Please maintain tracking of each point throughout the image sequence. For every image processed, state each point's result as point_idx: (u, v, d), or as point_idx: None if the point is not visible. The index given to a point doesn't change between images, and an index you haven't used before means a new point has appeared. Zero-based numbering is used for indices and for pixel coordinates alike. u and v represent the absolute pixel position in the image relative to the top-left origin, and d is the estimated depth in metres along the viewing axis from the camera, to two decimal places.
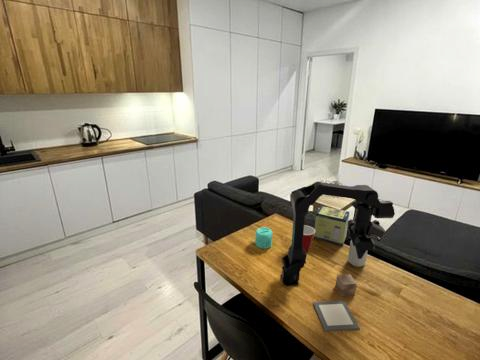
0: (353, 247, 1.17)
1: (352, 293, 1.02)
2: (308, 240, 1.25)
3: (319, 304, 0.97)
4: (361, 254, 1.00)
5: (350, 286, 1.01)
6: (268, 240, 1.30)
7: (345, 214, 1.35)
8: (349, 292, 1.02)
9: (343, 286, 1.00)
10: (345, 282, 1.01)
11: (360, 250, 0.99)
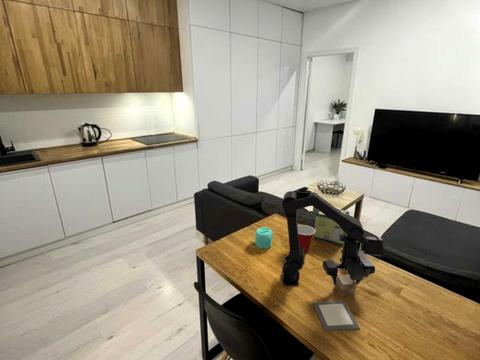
0: None
1: (352, 293, 1.02)
2: (308, 240, 1.25)
3: (319, 304, 0.97)
4: (332, 279, 1.02)
5: (350, 286, 1.01)
6: (268, 240, 1.30)
7: None
8: (349, 292, 1.02)
9: (343, 286, 1.00)
10: (345, 282, 1.01)
11: None
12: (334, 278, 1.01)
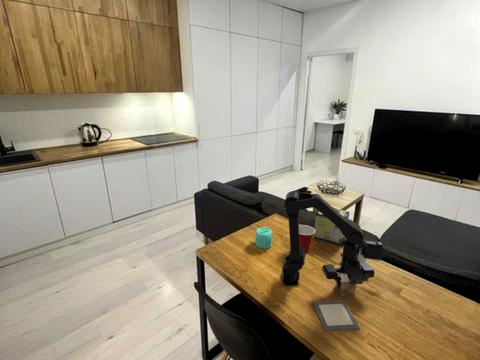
0: None
1: (352, 293, 1.02)
2: (308, 240, 1.25)
3: (319, 304, 0.97)
4: (336, 283, 1.03)
5: (350, 286, 1.01)
6: (268, 240, 1.30)
7: (345, 214, 1.35)
8: (349, 292, 1.02)
9: (343, 286, 1.00)
10: (345, 282, 1.01)
11: None
12: (338, 282, 1.01)
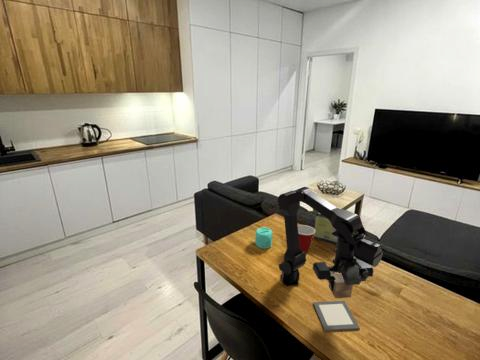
0: None
1: (348, 295, 0.87)
2: (308, 240, 1.25)
3: (319, 304, 0.97)
4: (329, 284, 0.89)
5: (345, 287, 0.86)
6: (268, 240, 1.30)
7: None
8: (344, 294, 0.87)
9: (337, 287, 0.86)
10: (340, 282, 0.87)
11: None
12: (331, 282, 0.87)
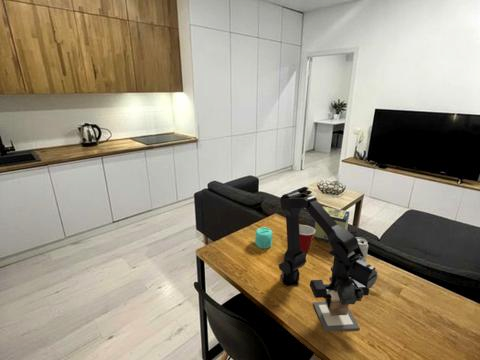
0: None
1: (344, 313, 0.89)
2: (308, 240, 1.25)
3: (319, 304, 0.97)
4: (326, 301, 0.90)
5: (341, 305, 0.88)
6: (268, 240, 1.30)
7: (345, 214, 1.35)
8: (340, 312, 0.89)
9: (334, 305, 0.88)
10: (336, 300, 0.88)
11: None
12: (328, 300, 0.89)
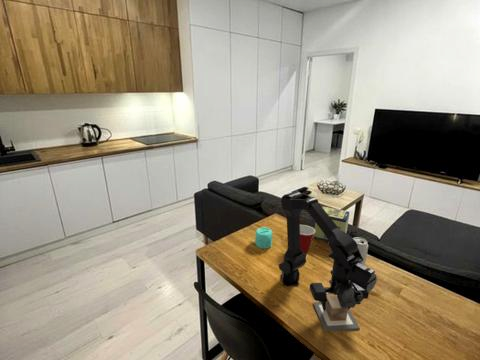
0: None
1: (343, 318, 0.90)
2: (308, 240, 1.25)
3: (319, 304, 0.97)
4: (322, 304, 0.91)
5: (341, 311, 0.89)
6: (268, 240, 1.30)
7: (345, 214, 1.35)
8: (340, 317, 0.89)
9: (333, 310, 0.88)
10: (335, 306, 0.89)
11: None
12: (323, 303, 0.89)
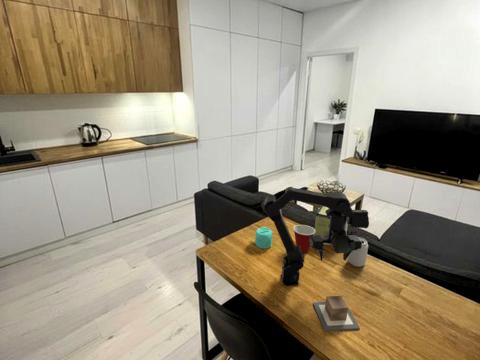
0: None
1: (343, 318, 0.90)
2: (308, 240, 1.25)
3: (319, 304, 0.97)
4: (319, 254, 1.03)
5: (341, 311, 0.89)
6: (268, 240, 1.30)
7: None
8: (340, 317, 0.89)
9: (333, 310, 0.88)
10: (335, 306, 0.89)
11: None
12: (320, 253, 1.01)
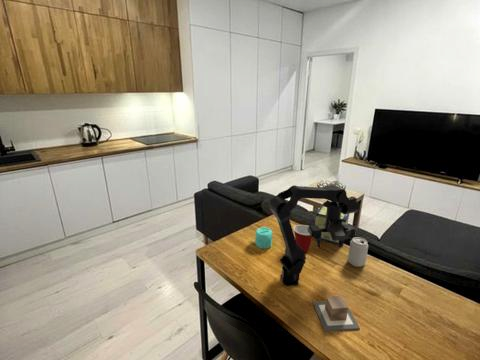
0: (353, 247, 1.17)
1: (343, 318, 0.90)
2: (308, 240, 1.25)
3: (319, 304, 0.97)
4: (317, 243, 1.11)
5: (341, 311, 0.89)
6: (268, 240, 1.30)
7: (345, 214, 1.35)
8: (340, 317, 0.89)
9: (333, 310, 0.88)
10: (335, 306, 0.89)
11: (316, 238, 1.11)
12: (318, 241, 1.09)
